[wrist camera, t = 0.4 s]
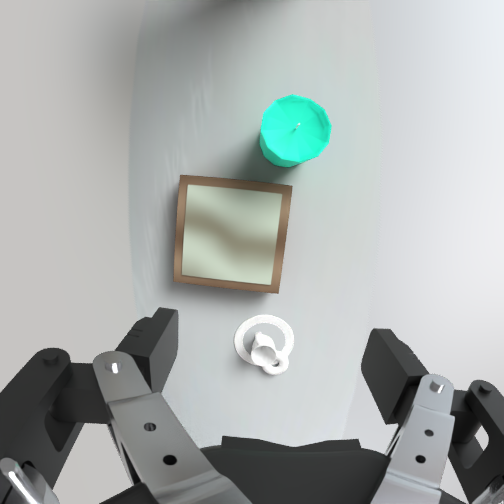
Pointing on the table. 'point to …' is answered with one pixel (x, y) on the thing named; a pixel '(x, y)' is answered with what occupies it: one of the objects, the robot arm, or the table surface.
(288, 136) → the candle
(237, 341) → the teacup and saucer
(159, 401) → the robot arm
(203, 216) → the framed mirror
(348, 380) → the table surface
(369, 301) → the table surface
